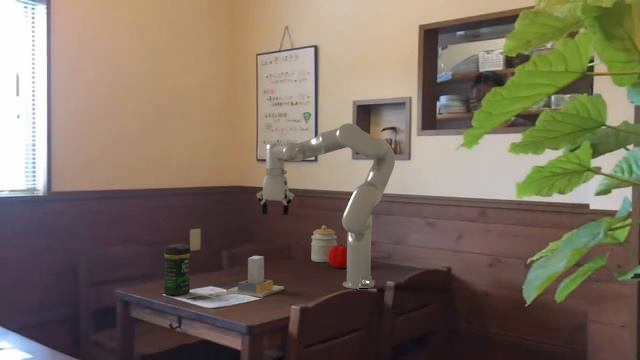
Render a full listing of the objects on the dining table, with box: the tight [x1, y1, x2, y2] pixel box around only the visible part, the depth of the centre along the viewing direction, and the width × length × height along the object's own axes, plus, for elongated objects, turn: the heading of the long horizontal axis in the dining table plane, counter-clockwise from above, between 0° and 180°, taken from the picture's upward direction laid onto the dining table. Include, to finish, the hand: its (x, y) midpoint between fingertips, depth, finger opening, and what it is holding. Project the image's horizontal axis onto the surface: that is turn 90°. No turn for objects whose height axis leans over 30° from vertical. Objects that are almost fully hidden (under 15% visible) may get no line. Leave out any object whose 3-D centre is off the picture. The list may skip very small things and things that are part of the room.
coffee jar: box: [163, 243, 191, 296], centre depth 228 cm, size 10×8×19 cm
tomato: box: [328, 244, 347, 269], centre depth 286 cm, size 12×12×11 cm
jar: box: [310, 225, 338, 263], centre depth 306 cm, size 13×13×18 cm
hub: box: [225, 279, 285, 298], centre depth 234 cm, size 16×16×4 cm
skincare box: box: [247, 255, 265, 284], centre depth 234 cm, size 6×4×12 cm
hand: (275, 214), depth 254 cm, fingers open, 9 cm apart
